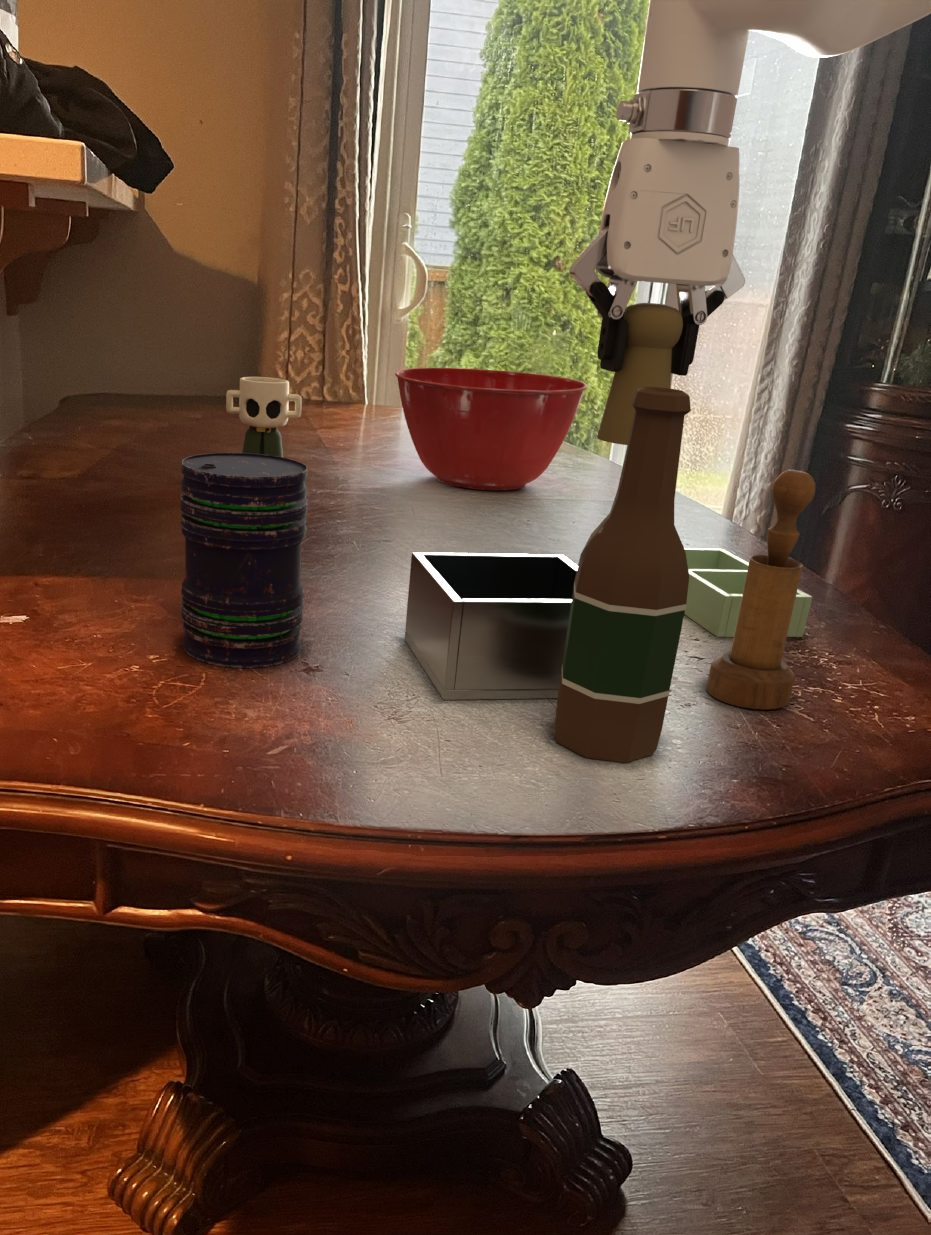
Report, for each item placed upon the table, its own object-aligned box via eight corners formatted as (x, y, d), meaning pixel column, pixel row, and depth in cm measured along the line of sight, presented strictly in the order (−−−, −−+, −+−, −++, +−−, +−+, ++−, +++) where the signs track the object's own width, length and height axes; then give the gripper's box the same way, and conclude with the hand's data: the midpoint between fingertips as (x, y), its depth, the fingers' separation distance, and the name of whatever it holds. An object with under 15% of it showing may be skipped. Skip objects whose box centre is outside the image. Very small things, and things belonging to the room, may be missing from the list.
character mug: (223, 472, 153) (224, 379, 147) (227, 463, 159) (228, 374, 154) (298, 477, 153) (302, 384, 148) (299, 468, 160) (302, 379, 155)
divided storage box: (715, 584, 116) (723, 548, 114) (803, 637, 100) (813, 596, 99) (639, 583, 114) (645, 547, 112) (716, 637, 98) (725, 596, 97)
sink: (551, 639, 94) (563, 554, 91) (610, 697, 82) (626, 602, 79) (404, 639, 91) (411, 551, 88) (443, 700, 79) (453, 601, 76)
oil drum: (276, 622, 93) (281, 451, 87) (321, 661, 85) (330, 475, 79) (166, 633, 89) (163, 453, 82) (203, 674, 81) (202, 478, 75)
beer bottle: (572, 709, 79) (624, 378, 70) (673, 737, 76) (741, 393, 66) (531, 743, 73) (581, 385, 64) (639, 775, 70) (709, 401, 60)
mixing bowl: (368, 488, 150) (375, 375, 144) (408, 457, 176) (415, 360, 170) (566, 510, 145) (582, 395, 139) (577, 475, 171) (591, 376, 165)
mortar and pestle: (713, 674, 89) (759, 459, 82) (793, 691, 87) (847, 471, 79) (699, 698, 83) (746, 470, 76) (783, 717, 81) (840, 483, 74)
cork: (584, 438, 90) (604, 299, 85) (614, 432, 94) (634, 300, 90) (651, 449, 86) (675, 306, 82) (678, 442, 91) (702, 306, 87)
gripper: (595, 107, 76) (561, 371, 83) (808, 130, 79) (758, 382, 86) (560, 118, 82) (532, 362, 90) (758, 139, 86) (715, 372, 93)
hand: (643, 369), depth 88 cm, fingers closed on cork, 5 cm apart
